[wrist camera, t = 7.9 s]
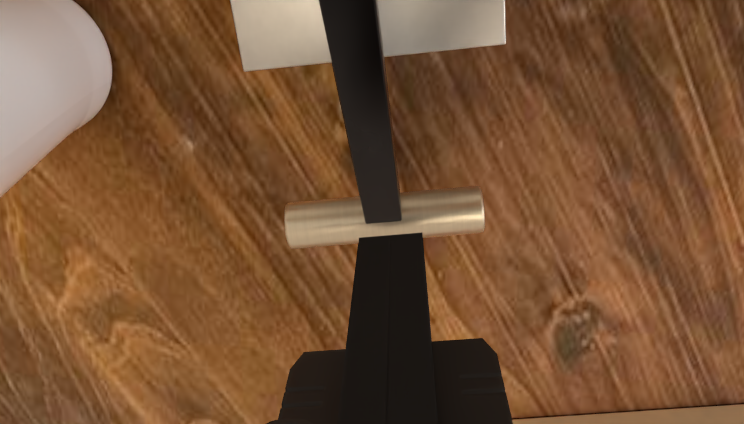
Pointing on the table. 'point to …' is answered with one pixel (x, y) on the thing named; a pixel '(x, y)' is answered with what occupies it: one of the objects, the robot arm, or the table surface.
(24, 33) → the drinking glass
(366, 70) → the lever
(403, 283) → the robot arm
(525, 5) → the table surface
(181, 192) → the table surface
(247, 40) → the bracket
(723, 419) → the button block
